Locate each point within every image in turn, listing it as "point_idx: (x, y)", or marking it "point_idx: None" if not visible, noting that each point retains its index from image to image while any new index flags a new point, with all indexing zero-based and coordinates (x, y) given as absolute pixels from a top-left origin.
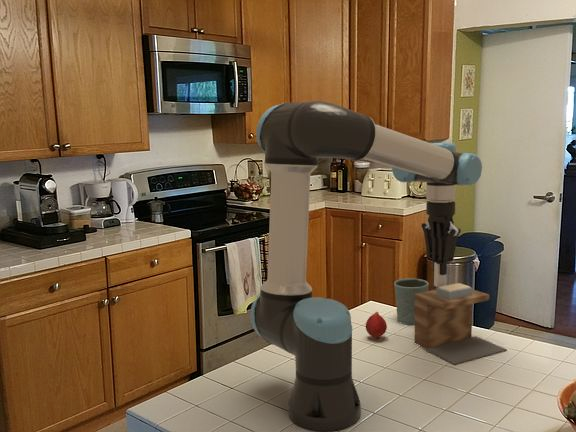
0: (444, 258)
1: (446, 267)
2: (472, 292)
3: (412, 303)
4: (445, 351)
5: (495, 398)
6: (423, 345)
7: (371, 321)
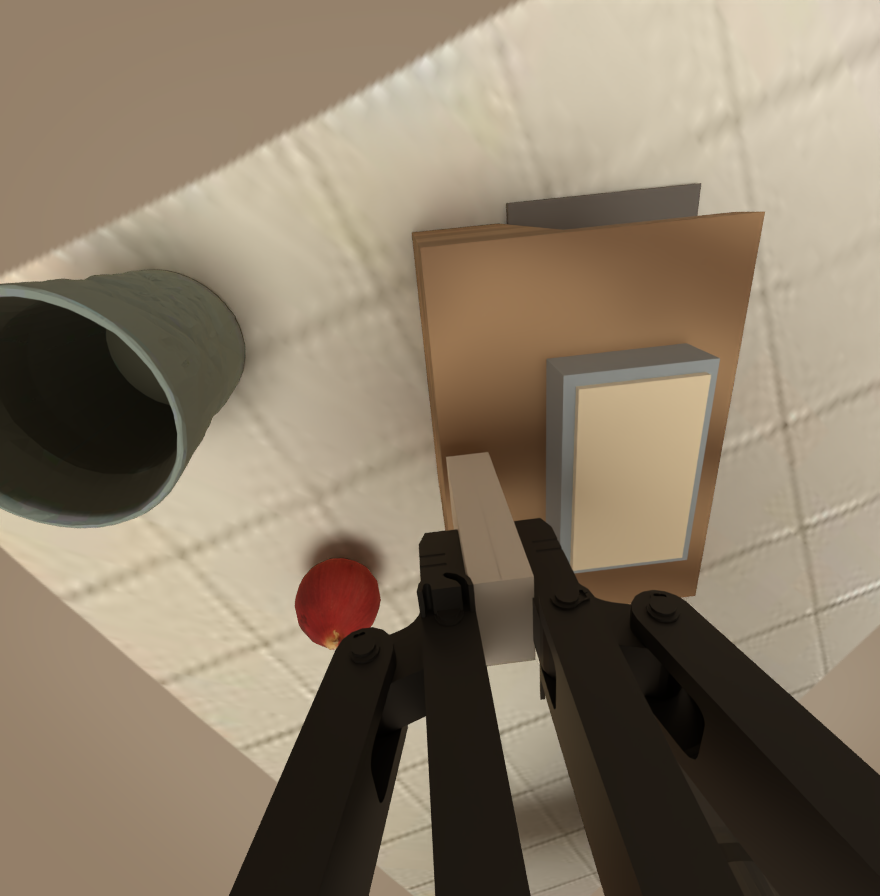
0: (658, 710)
1: (568, 565)
2: (641, 296)
3: (208, 420)
4: None
5: (875, 488)
6: None
7: None
